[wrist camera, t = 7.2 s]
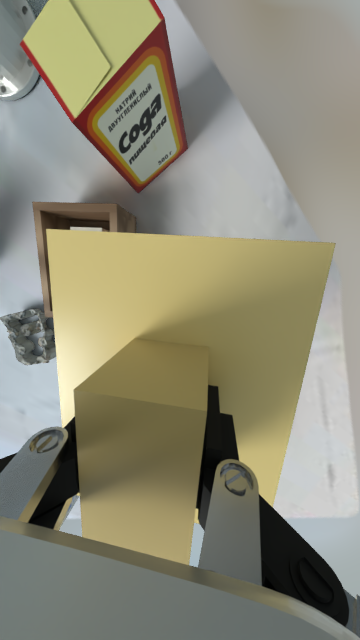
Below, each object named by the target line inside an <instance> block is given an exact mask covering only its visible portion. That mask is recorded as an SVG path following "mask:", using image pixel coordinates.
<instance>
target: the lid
mask: <svg viewBox="0 0 360 640" xmlns="http://www.w3.org/2000/svg"><path fill="white" fill-rule="evenodd" d="M46 234H47V246H48V259H49V271H50V283H51V296H52V308H53V320H54V333H55V345H56V357H57V370H58V382H59V394H60V407H61V419H62V428H64V427H65V426H66V425H67V424H68V423H69V422H70V421H71V420H72V419H73V418H74V416H75V424H76V440H77V456H78V472H79V488H80V493H78V494H77V496H80V504H81V520H82V537H84V538H88V539H92V540H95V541H99V542H103V543H107V544H111V545H115V546H118V547H122V548H126V549H130V550H134V551H137V552H141V553H145V554H149V555H152V556H156V557H160V558H163V559H167V560H171V561H175V562H178V563H182V564H186V565H189V559H190V551H191V543H192V535H193V526H194V523H198V524H200V523H199V520H198V509H196V501H197V493H198V484H199V476H200V467H201V459H202V450H203V442H204V433H205V425H206V417H207V396H208V385H213V386H218V389H219V405H220V413H224V414H230V415H232V416H233V422H234V428H235V435H236V442H237V448H238V455H239V461H240V462H242V463H244V464H245V465H247V466H248V467H249V468H250V469H251V470H252V471H253V473H254V474H255V476H256V478H257V481H258V486H259V494H260V495H261V496H262V497H263V498H264V499H265V500H266V501H267V502H268V503H269V504H270V505H271V506H272V507H273V504H274V499H275V495H276V491H277V487H278V483H279V478H280V474H281V470H282V466H283V462H284V457H285V453H286V449H287V445H288V441H289V437H290V432H291V428H292V424H293V420H294V416H295V411H296V407H297V403H298V399H299V395H300V390H301V386H302V382H303V378H304V374H305V370H306V365H307V361H308V357H309V353H310V349H311V344H312V340H313V336H314V332H315V328H316V323H317V319H318V315H319V311H320V307H321V302H322V298H323V294H324V290H325V286H326V282H327V277H328V273H329V269H330V265H331V261H332V256H333V252H334V248H335V243H325V242H305V241H284V240H264V239H243V238H223V237H202V236H182V235H161V234H141V233H120V232H100V231H80V230H59V229H46Z"/></svg>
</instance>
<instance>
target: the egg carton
mask: <svg viewBox="0 0 360 640" xmlns="http://www.w3.org/2000/svg"><path fill="white" fill-rule="evenodd" d="M34 315H38V317H39V320H38V322H37V321H34V322H30V323H27V324H24V325H23V324H20V322H19V319H24V318H28V317H32V316H34ZM47 318H48V317H45V313H44V312H42V311H41V310H40V309H39V308H38V309H30V310H26V311H23V312H18V313H14V314H9V315H6V316H3V317H1V318H0V319H1V320H2V322H3V323H4V325H5V326H6V327H7V330H8V331H7V332H9V336H8V338H9V339H10V340H11V342H12V345H13V347H14V349H15V354H16V358H17V360H18V361H19V362H21V363H23V364H25V365H32V364H38V363H48V362H49V360H51V359H53V358H55V357H56V345H55V343H54V342H53V341H52V336H53V335H54V332H53V330H52V329H50V328H48V327H47V326H46V323H45V321H46V319H47ZM40 331H42V332H44V336H43V337H40V338H39V339H38V344H39V346H40V347H42V348H43V355H41V356H39V357H38V356H37V355H33V353H32V350H34V348H35V346H34V343H33V342H32V341H30V340H27V338H26V336H30V335H33V334H36V333H38V332H40Z"/></svg>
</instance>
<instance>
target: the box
mask: <svg viewBox="0 0 360 640" xmlns="http://www.w3.org/2000/svg"><path fill="white" fill-rule="evenodd" d="M32 203H33V212H34V221H35V230H36V239H37V248H38V257H39V266H40V275H41V284H42V293H43V302H44V311H45V317H51V318H53V308H52V296H51V283H50V271H49V259H48V246H47V234H46V229H59V230H80V231H100V232H120V233H136V217H134V216H133V215H132V214H130V213H129V212H127V211H126V210H125V209H123V208H122V207H120V206H119V205H118V204H103V203H58V202H32Z"/></svg>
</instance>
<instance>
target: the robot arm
mask: <svg viewBox="0 0 360 640" xmlns="http://www.w3.org/2000/svg"><path fill="white" fill-rule="evenodd" d="M36 19H37V18H36V16H35V14H34V11H33V10H32V8H31V7H30V5H29V4H28V2H27V1H26V0H0V99H1V100H5V101H13V100H17V99H20V98H21V97H23V96H25V95H26V94H27V93H28V92H29V91H30V90H31V89H32V88H33V86H34V85H35V83H36V81H37V79H38V77H39V72H38V71H37V69H36V68H35V66H34V65H33V63H32V62H31V60H30V59H29V57H28V56H27V54H26V53H25V52H24V50H23V49H22V47H21V46H20V43H21V41H22V40H23V38H24V37H25V35H26V34H27V32H28V31H29V29H30V28H31V26H32V25H33V23H34V22H35V20H36ZM78 493H80V488H79V472H78V456H77V440H76V424H75V416H74V418H73V419H72V420H71V421H70V422H69V423H68V424H67V425H66V426H65V427H64V428H62V427H50V428H46V429H44V430H41V431H39V432H38V433H36V434H35V435H33V436H32V437H31V438H30V439H29V440H28V441H27V442H26V443H25V445H24V446H23V447H22V448H21V449H20V451H19V452H18V453H15V454H13V455H10V456H7V457H5V458H2V459H0V640H360V596H358V595H356V598H354V597H353V596H351V595H350V594H349V593H348V592H347V591H346V590H345V589H343V587H342V584H341V582H340V581H339V579H338V577H337V576H336V574H335V573H334V571H333V570H332V568H331V567H330V566H329V565H328V564H327V563H326V561H325V560H324V559H323V558H322V557H321V556H320V555H319V554H318V553H317V552H316V551H315V550H314V549H313V548H312V547H311V546H310V545H309V544H308V543H307V542H306V541H305V540H304V539H303V538H302V537H301V536H300V535H299V534H298V533H297V532H296V531H295V530H294V529H293V528H292V527H291V526H290V525H289V524H288V523H287V522H286V521H285V520H284V519H283V518H282V517H281V516H280V515H279V514H278V513H277V512H276V511H275V510H274V508H273V507H272V506H271V505H270V504H269V503H268V502H267V501H266V500H265V499H264V498H263V497H262V496H261V495H260V494H259V486H258V481H257V478H256V476H255V474H254V473H253V471H252V470H251V469H250V468H249V467H248V466H247V465H245V464H244V463H242V462H240V461H239V455H238V448H237V442H236V435H235V428H234V422H233V416H232V415H230V414H224V413H220V405H219V389H218V386H213V385H208V396H207V417H206V425H205V433H204V442H203V450H202V459H201V467H200V476H199V484H198V493H197V501H196V509H198V520H199V523H200V525H201V526H202V528H203V529H204V531H205V533H204V538H203V543H202V548H201V554H200V560H199V565H198V568H197V567H193V566H189V565H186V564H182V563H178V562H175V561H171V560H167V559H163V558H160V557H156V556H152V555H149V554H145V553H141V552H137V551H134V550H130V549H126V548H122V547H118V546H115V545H111V544H107V543H103V542H99V541H95V540H92V539H88V538H84V537H80V536H76V535H72V534H68V533H65V532H61V531H59V529H60V527H61V525H62V523H63V520H64V518H65V516H66V513H67V511H68V509H69V506H70V504H71V501H72V498H73V496H75V495H77V494H78Z"/></svg>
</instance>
